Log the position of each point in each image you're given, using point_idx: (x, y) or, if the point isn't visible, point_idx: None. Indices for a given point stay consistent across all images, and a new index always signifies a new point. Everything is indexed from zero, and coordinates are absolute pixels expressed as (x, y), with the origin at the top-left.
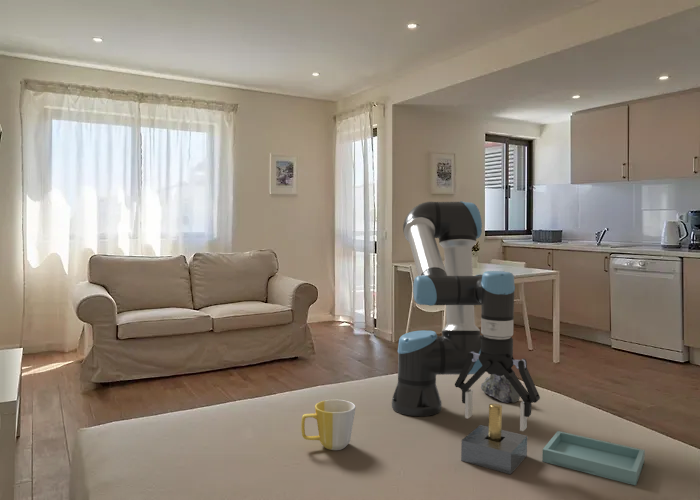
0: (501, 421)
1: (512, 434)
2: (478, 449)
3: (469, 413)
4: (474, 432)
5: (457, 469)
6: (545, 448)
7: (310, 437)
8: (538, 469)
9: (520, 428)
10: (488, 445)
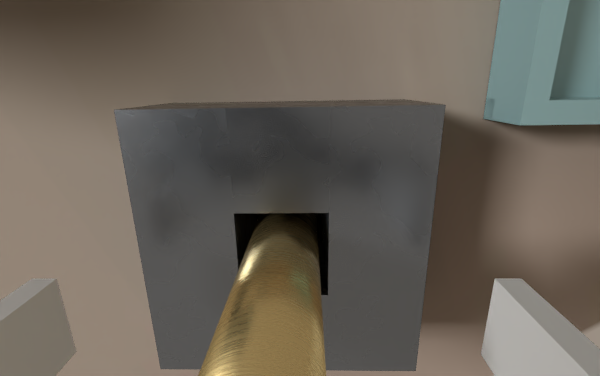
0: (322, 323)
1: (353, 142)
2: None
3: (45, 351)
4: (155, 249)
5: None
6: (534, 103)
7: None
8: (478, 204)
9: (494, 367)
10: None
